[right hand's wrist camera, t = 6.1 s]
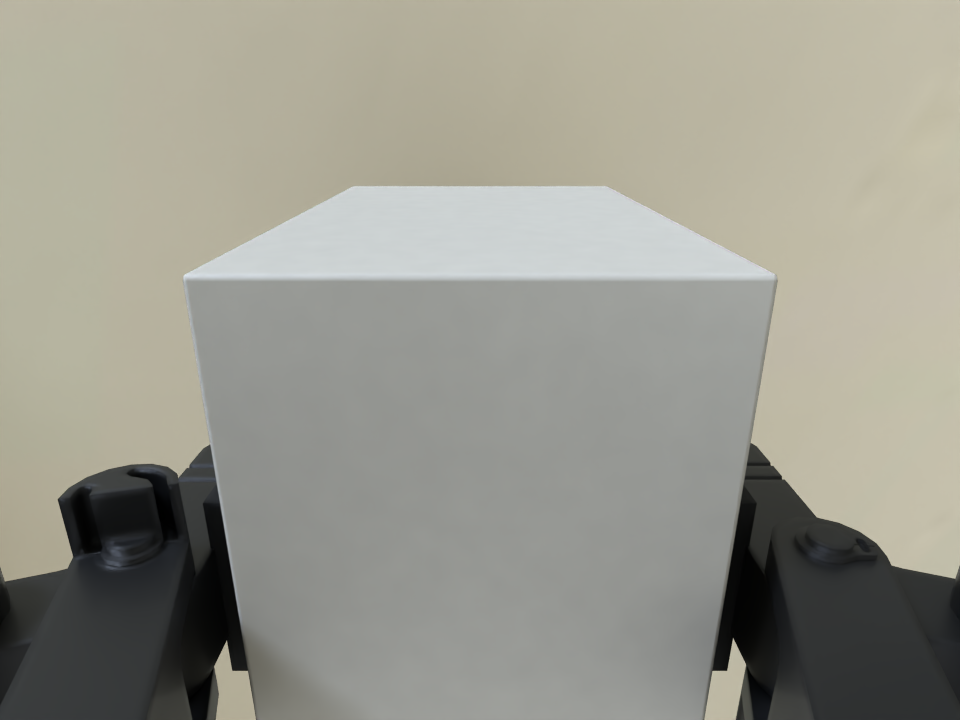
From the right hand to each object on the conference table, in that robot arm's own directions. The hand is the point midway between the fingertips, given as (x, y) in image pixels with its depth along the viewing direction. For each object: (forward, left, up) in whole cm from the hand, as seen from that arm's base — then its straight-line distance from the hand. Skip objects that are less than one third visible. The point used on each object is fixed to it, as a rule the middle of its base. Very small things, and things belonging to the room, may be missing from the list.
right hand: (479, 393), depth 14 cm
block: (0, 0, -1) cm, 0 cm away
